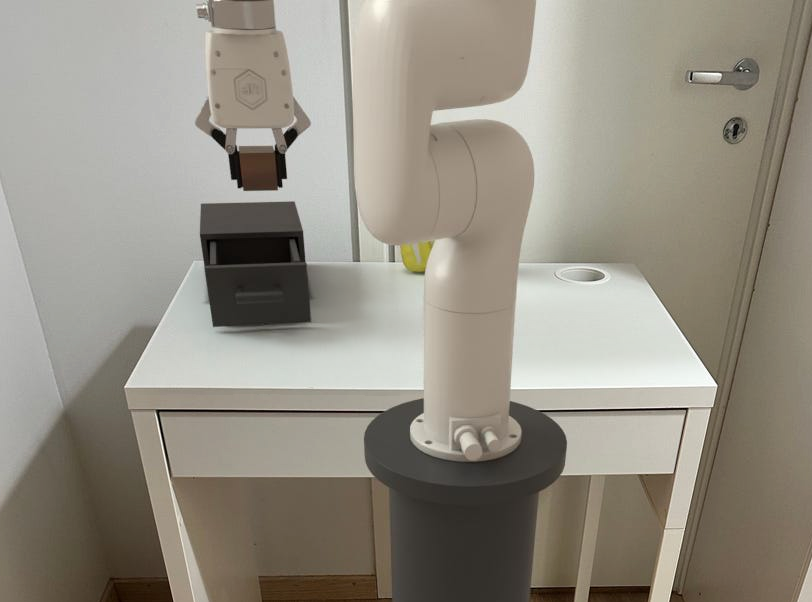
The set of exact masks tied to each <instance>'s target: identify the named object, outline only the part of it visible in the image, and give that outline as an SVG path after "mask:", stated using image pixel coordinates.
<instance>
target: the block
mask: <svg viewBox="0 0 812 602" xmlns="http://www.w3.org/2000/svg"><path fill="white" fill-rule="evenodd" d="M238 151H239V156H240V165H241V174H242V183H243V187H242V190H243V192H265V191H266V192H267V191H271V192H272V191H273V192H275V191H279V187H278V184H277V173H276V162H275V152H274V151H275V147H274V145H238Z"/></svg>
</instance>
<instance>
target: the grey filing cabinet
mask: <svg viewBox="0 0 812 602" xmlns="http://www.w3.org/2000/svg"><path fill="white" fill-rule="evenodd" d="M298 211H299V210H298V207H297V205H296V201H292V200H291V201H289V200H288V201H255V202H253V201H252V202H251V201H249V202H248V201H247V202H213V203H212V202H208V203H206V202H205V203H200V213H199V215H200V216H199V220H200V221H199V239H200V246H201V247H200V248H201V253H202V259H203V267H205V266H210V239H242V238H274V237H294V238H295V242H296V246H297V250H298V254H299V258H300V262H306V261H307V260H306V249H305V248H306V247H305V238H304V237H305V236H304V229H303V226H302V222H301V218H300V215H299V212H298ZM306 263H307V262H306Z"/></svg>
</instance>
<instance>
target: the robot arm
mask: <svg viewBox="0 0 812 602" xmlns="http://www.w3.org/2000/svg"><path fill="white" fill-rule="evenodd" d="M536 7H537V0H364V1H363V4H362V6H361V8H360V11H359V14H358V17H357V21H356V23H355V24H356V25H355V30H354V35H353V46H352V114H353V115H352V122H353V123H352V124H353V125H352V126H353V130H352V131H353V177H354V179H353V180H354V190H355V198H356V204H357V208H358V212H359V214H360V217H361V220H362V222H363V224H364V226H365V228H366V229H367V231H368V232H369V233H370V234H371V236H372V237H374V238H375V239H376V240H377V241H379V242H380V243H383V244H386V245H388V246H394V247H395V246H399V247H400V246H402V245H411V244H417V243H424V242H429V241H434V240H435V242H434V245H433V247H432V250H431V252H430V255H429V258H428V261H427V265H426V270H425V271H424V278H423V398H424V413H423V414H421V415H420V416H418V417H417V418H416V419H415V420H413V422H412V424H411V426H410V438H411V441H412V443H413V444H414V445H415V446H416V447H417V448H418V449H419V450H421V451H422V452H424V453H426V454H428V455H431V456H433V457H436V458H440V459H443V460H449V461H456V462H481V461H488V460H493V459H497V458H500V457H503V456H505V455H507V454H509V453H511V452H512V451H514V450H515V449H516V448H517V447H518V446H519V444H520V442H521V432H522V430H521V427H520V425H519V424H518V423H517V421H516V420H514V419H513V418H512V417H510V416H509V405H510V401H511V387H512V386H511V385H512V371H513V356H514V355H513V353H514V338H515V337H514V336H515V321H516V319H515V318H516V305H517V292H518V277H519V265H520V258H521V257H520V256H521V249H522V243H523V237H524V232H525V228H526V224H527V221H528V217H529V212H530V208H531V204H532V199H533V194H534V186H535V164H534V159H533V155H532V152H531V149H530V147H529V145H528V142H527V141H526V139H525V138H524V137H523V135H521V133H520V132H519V131H518V130H517V129H515V128H514V127H512V126H511V125H510V124H507V123H504V122H502V121H499V120H494V119H487V118H477V119H474V118H473V119H465V120H455V121H454V120H453V121H446V122H445V121H444V122H438V123H434V124H432V119H433V112H436V111H445V110H452V109H453V110H456V109H466V108H473V107H475V108H476V107H482V106H487V105H488V106H489V105H493V104H498V103H502V102H505V101H507V100H509V99H511V98H513V97H514V96H515V95H516V94H517V93H518V92H519V91H520V90H521V89H522V87H523V85H524V82H525V80H526V77H527V75H528V70H529V66H530V60H531V59H530V58H531V52H532V47H533V38H534V37H533V36H534V28H535V27H534V26H535V17H536ZM196 12H197V18H198V19H204V20H205V21H206V20H207V21H208V22H209V23H211V28H210V29H207V30H206V31H205V40H204V41H205V43H204V45H205V46H204V50H205V55H204V56H205V70H206V72H205V73H206V84H207V96H206V99H205V100H204V102H203V104H202V106H201V108H200V110H199V112H198V114H197V116H196V117H195V119H194V124H195V126H196V127H197V129H200V130H201V131H202V132H203V133H205V134H206V135H207V136H209V137H210V138H212V139H213V140H214V141H215V142H216V143H217V144H218V145H219V146H220V147H221V148H222V149H223V150H224V151H225V152H226V153H227V155H228V163H229V173H230V180H231V181H236V185H237V189H243V183H242V174H241V165H240V156H239V150H238V145H237V144H236V143H237V132H238V129H271V131H272V135H273V138H274V141H275V144H274V145H273V147H274V152H275V162H276V173H277V184H278V189H283V187H284V184H283V180H288V171H287V159H286V153H287V151H288V150H289V148H290V147H291V146H292V145H293V143H294V142H295V141H296V139H297V138H299V136H301V135H302V134H303V133H304V132H305V131H306V130H308V129H309V128H310V127H311V125H312V122H311V119H310V118H309V116H308V115H307V113H306V112H305V110H304V109H303V108H302V107H301V105H300V103H299V102H298V101H297V99H296V98H295V96H294V91H293V84H292V75H291V67H290V60H289V54H288V49H287V45H286V40H285V36H284V33H283V32H282V31H281V30H278V29H277V25H276V24H277V23H276V21H277V20H276V10H275V0H206V1H205V2H203V3H202V4H196ZM210 118H211V119H212V122H213V123H214V124H213V123H212V122H211V121H210ZM295 119H296V121H295V122H294V120H295ZM217 126H218V127H217ZM219 127H220V128H223V129H225V132H223V131H222V130H221V129H220V128H219ZM287 127H288V128H287ZM283 128H287V129H286V131H285V132H284V131H283Z"/></svg>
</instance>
